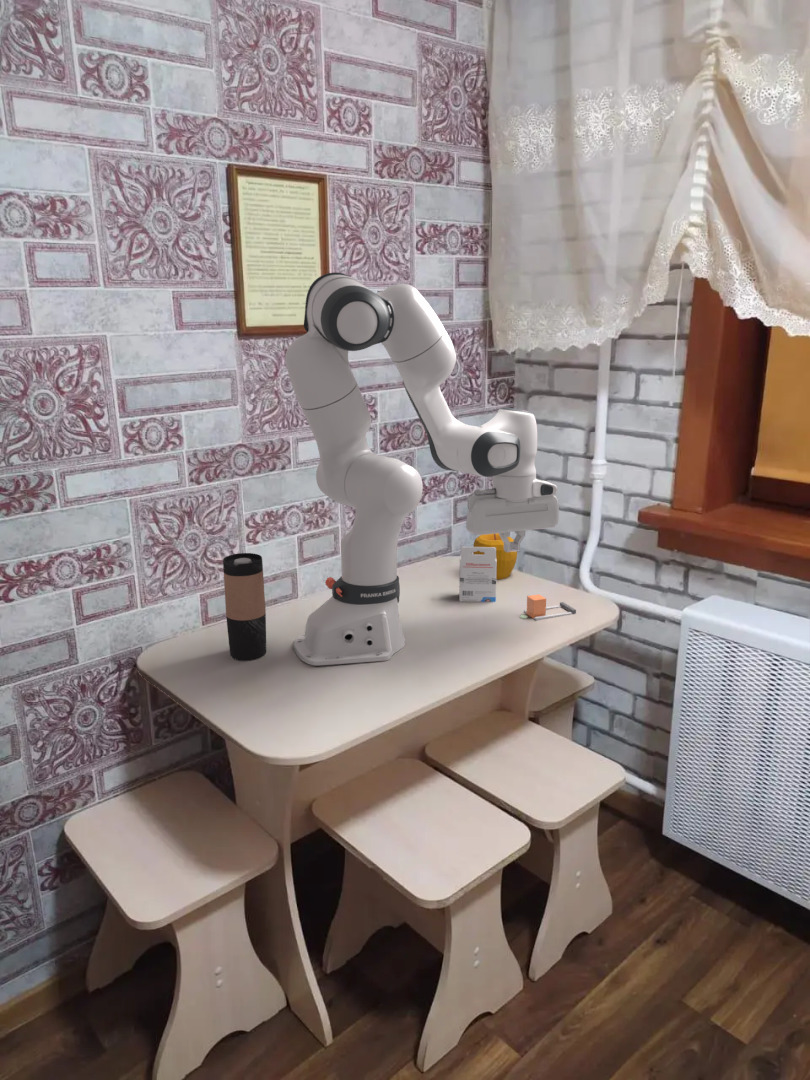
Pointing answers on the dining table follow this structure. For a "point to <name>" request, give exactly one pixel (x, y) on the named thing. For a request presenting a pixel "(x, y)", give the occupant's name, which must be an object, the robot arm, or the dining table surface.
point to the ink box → (477, 575)
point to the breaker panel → (562, 604)
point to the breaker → (536, 606)
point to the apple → (498, 553)
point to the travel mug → (245, 606)
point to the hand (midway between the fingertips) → (511, 551)
